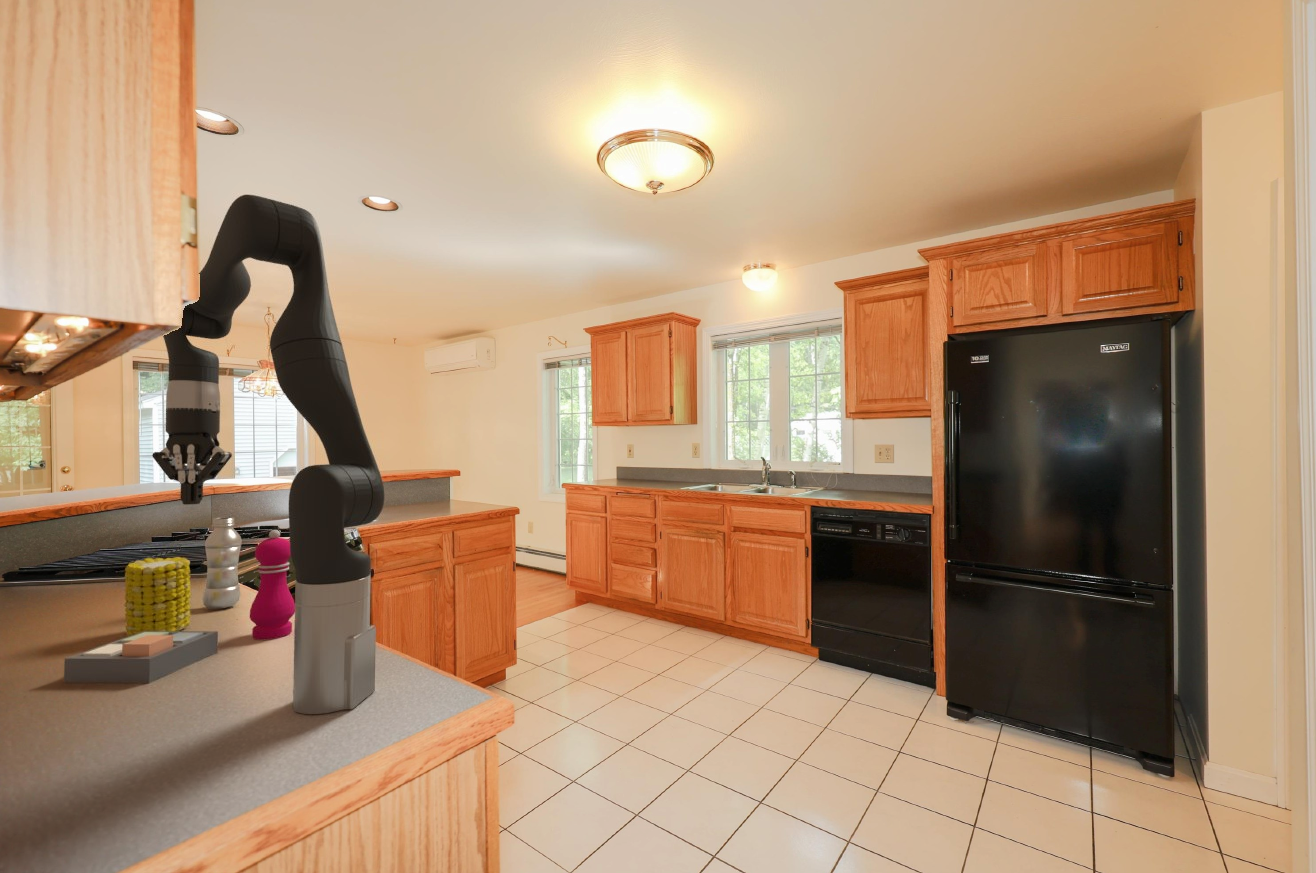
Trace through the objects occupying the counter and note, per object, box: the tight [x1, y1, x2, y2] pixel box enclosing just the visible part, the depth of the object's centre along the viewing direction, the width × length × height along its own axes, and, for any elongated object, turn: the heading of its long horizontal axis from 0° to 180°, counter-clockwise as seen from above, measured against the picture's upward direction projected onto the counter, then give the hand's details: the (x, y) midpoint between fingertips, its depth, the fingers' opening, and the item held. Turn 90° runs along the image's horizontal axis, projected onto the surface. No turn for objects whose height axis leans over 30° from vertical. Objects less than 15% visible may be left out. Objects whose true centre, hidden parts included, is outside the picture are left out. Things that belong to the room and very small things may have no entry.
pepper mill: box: [249, 529, 295, 641], centre depth 107 cm, size 7×7×20 cm
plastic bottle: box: [202, 517, 243, 610], centre depth 126 cm, size 6×7×20 cm
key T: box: [122, 635, 173, 656], centre depth 88 cm, size 4×4×3 cm
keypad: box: [63, 630, 219, 684], centre depth 91 cm, size 13×13×4 cm
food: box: [123, 556, 192, 637], centre depth 108 cm, size 15×12×10 cm
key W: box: [121, 632, 169, 643], centre depth 94 cm, size 4×4×3 cm
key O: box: [173, 632, 203, 643], centre depth 94 cm, size 4×4×3 cm
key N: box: [83, 644, 122, 656], centre depth 88 cm, size 4×4×3 cm
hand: (191, 504), depth 100 cm, fingers closed
